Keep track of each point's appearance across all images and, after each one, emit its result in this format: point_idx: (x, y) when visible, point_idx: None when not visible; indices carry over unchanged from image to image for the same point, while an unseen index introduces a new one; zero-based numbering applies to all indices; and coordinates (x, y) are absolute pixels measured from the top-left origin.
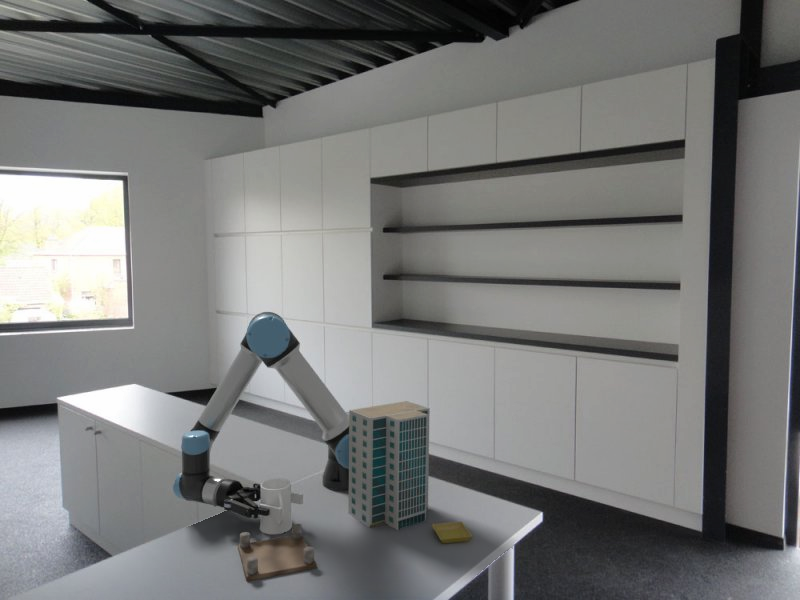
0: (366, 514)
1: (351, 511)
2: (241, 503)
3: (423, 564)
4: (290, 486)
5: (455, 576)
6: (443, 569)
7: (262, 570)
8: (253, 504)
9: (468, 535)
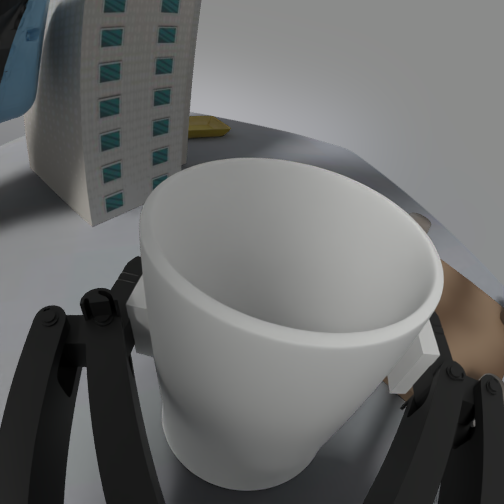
0: (169, 167)
1: (105, 209)
2: (484, 482)
3: (295, 149)
4: (267, 169)
5: (306, 137)
6: (296, 141)
7: (492, 307)
8: (453, 396)
9: (204, 119)
